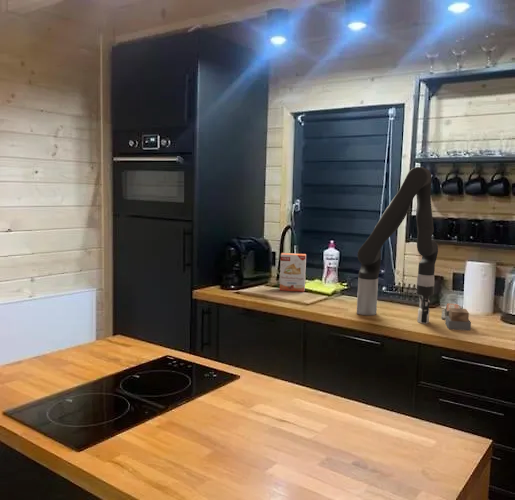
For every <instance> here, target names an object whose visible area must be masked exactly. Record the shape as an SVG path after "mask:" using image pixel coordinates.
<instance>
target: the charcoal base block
mask: <svg viewBox="0 0 515 500" xmlns="http://www.w3.org/2000/svg"><path fill="white" fill-rule="evenodd" d="M444 321H445V326H446V327H447V329H448V330H453V329H454V330H453V331H455V330H456V331H471V328H472V327H471V325H472V321H471V320H470V319H469V318H468V322H461V321H451V320H450V318H449V316H446V320H444Z"/></svg>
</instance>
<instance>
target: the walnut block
mask: <svg viewBox="0 0 515 500" xmlns="http://www.w3.org/2000/svg"><path fill="white" fill-rule="evenodd" d="M469 315H470V313H469V311H468V309H466V308H461V309H457V308H449V318H450V320H451V321H461V322H468V319H469Z"/></svg>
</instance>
